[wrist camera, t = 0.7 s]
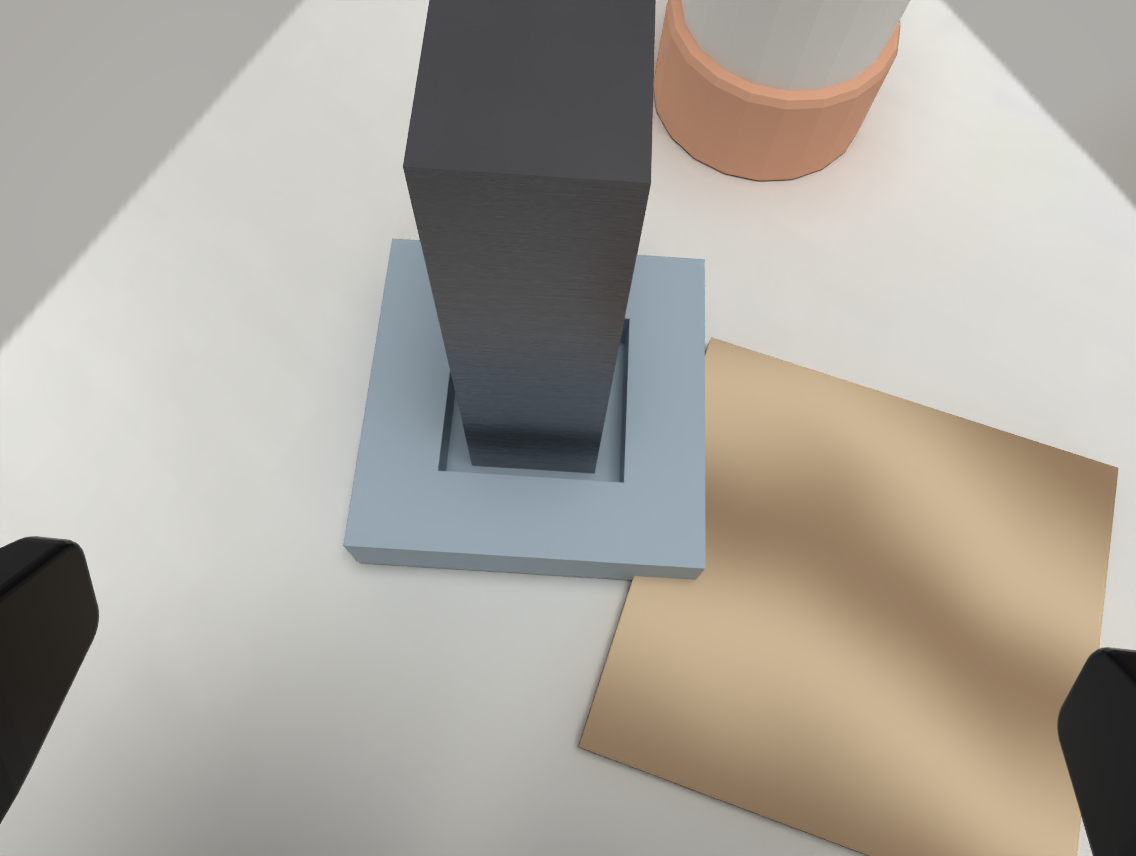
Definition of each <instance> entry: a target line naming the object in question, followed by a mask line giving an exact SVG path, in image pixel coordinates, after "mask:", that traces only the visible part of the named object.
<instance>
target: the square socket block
mask: <svg viewBox="0 0 1136 856" xmlns="http://www.w3.org/2000/svg"><path fill="white" fill-rule="evenodd" d="M343 546H344V547H345V548H346V549H347V550H348V551H349V552H350V553H351V554H352V555H353V556H354V558H355V559H356V560H357V561H358V562H359V563H366V564H382V565H398V566H414V567H429V568H445V569H461V570H477V571H493V572H508V573H524V574H540V575H556V576H572V577H587V578H603V579H619V580H632V579H633V577H634V576H645V577H660V578H676V579H692V580H696V579H697V578H698V577H699V576H700V574H701V573H702V572H703V571H704V570H705V569H706V551H705V267H704V259H691V258H676V257H661V256H646V255H637V257H636V262H635V268H634V273H633V278H632V283H631V288H630V293H629V299H628V304H627V309H626V314H625V319H624V324H623V330H622V335H621V340H620V345H619V350H618V355H617V361H616V366H615V371H614V376H613V381H612V386H611V391H610V397H609V402H608V407H607V412H606V417H605V422H604V428H603V433H602V438H601V443H600V448H599V453H598V459H597V464H596V469H595V474H593V473H577V472H562V471H546V470H531V469H515V468H500V467H484V466H472V463H471V459H470V454H469V450H468V446H467V441H466V437H465V433H464V428H463V424H462V420H461V415H460V411H459V407H458V402H457V398H456V394H455V389H454V385H453V381H452V376H451V372H450V368H449V363H448V359H447V355H446V350H445V346H444V342H443V338H442V333H441V329H440V325H439V320H438V316H437V312H436V307H435V303H434V299H433V294H432V290H431V286H430V281H429V277H428V273H427V268H426V264H425V260H424V255H423V251H422V247H421V242H420V240H405V239H392V244H391V250H390V256H389V262H388V269H387V275H386V281H385V288H384V294H383V300H382V306H381V313H380V319H379V325H378V332H377V338H376V344H375V350H374V357H373V363H372V369H371V375H370V382H369V388H368V394H367V401H366V407H365V413H364V419H363V426H362V432H361V438H360V445H359V451H358V457H357V463H356V470H355V476H354V482H353V489H352V495H351V501H350V507H349V514H348V520H347V526H346V533H345V539H344V545H343Z"/></svg>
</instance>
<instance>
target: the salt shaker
mask: <svg viewBox="0 0 1136 856" xmlns="http://www.w3.org/2000/svg"><path fill="white" fill-rule="evenodd" d="M909 1H910V0H668V3H667V7H666V12H665V18H664V24H663V30H662V36H661V42H660V48H659V54H658V60H657V66H656V72H655V78H654V84H653V88H654V95H655V102H656V109H657V113H658V114H659V116H660V118H661V120H662V122H663V123H664V125H665V127H666V129H667V130H668V132H669V134H670V136H671V137H672V138H673V139H674V140H675V141H676V142H677V143H678V144H679V145H681V146H682V147H683V148H684V149H685V150H686V151H687V152H688V153H689V154H690V155H692V156H693V157H694V158H695V159H697V160H699V161H701V162H703V163H705V164H707V165H709V166H711V167H713V168H715V169H717V170H719V171H721V172H723V173H725V174H730V175H735V176H739V177H744V178H749V179H753V180H758V181H762V180H784V179H794V178H797V177H800V176H803V175H806V174H809V173H812V172H815V171H818V170H821V169H823V168H824V167H826V166H827V165H828V164H830V163H831V162H832V161H834V160H835V159H836V158H838V157H839V156H840V155H842V154H843V153H844V152H845V151H846V150H847V148H848V147H849V145H850V143H851V142H852V140H853V138H854V137H855V135H856V133H857V132H858V130H859V128H860V126H861V124H862V122H863V120H864V118H865V117H866V115H867V113H868V111H869V109H870V107H871V105H872V103H873V101H874V99H875V97H876V95H877V93H878V91H879V89H880V87H881V85H882V83H883V81H884V79H885V77H886V75H887V73H888V71H889V69H890V67H891V65H892V63H893V61H894V59H895V57H896V56H897V51H898V43H899V35H900V18H901V17H902V15H903V13H904V11H905V9H906V7H907V5H908V3H909Z"/></svg>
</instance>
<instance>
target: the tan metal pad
mask: <svg viewBox="0 0 1136 856" xmlns="http://www.w3.org/2000/svg"><path fill="white" fill-rule="evenodd" d="M1117 476H1118V468H1117V467H1114V466H1110V465H1107V464H1104V463H1101V462H1098V461H1095V460H1092V459H1089V458H1086V457H1082V456H1079V455H1076V454H1073V453H1070V452H1067V451H1064V450H1061V449H1058V448H1054V447H1051V446H1048V445H1045V444H1042V443H1039V442H1036V441H1033V440H1029V439H1026V438H1023V437H1020V436H1017V435H1014V434H1011V433H1008V432H1005V431H1001V430H998V429H995V428H992V427H989V426H986V425H983V424H980V423H976V422H973V421H970V420H967V419H964V418H961V417H958V416H955V415H952V414H948V413H945V412H942V411H939V410H936V409H933V408H930V407H927V406H924V405H920V404H917V403H914V402H911V401H908V400H905V399H902V398H899V397H895V396H892V395H889V394H886V393H883V392H880V391H877V390H874V389H871V388H867V387H864V386H861V385H858V384H855V383H852V382H849V381H846V380H842V379H839V378H836V377H833V376H830V375H827V374H824V373H821V372H818V371H814V370H811V369H808V368H805V367H802V366H799V365H796V364H793V363H790V362H786V361H783V360H780V359H777V358H774V357H771V356H768V355H765V354H761V353H758V352H755V351H752V350H749V349H746V348H743V347H740V346H737V345H733V344H730V343H727V342H724V341H721V340H718V339H715V338H712V337H711V339H710V341H709V344H708V346H707V349H706V352H705V551H706V569H705V570H704V571H703V572H702V573H701V574H700V576H699V577H698V578H697V579H696V580H692V579H676V578H660V577H645V576H634V577H633V579H632V582H631V585H630V588H629V591H628V594H627V597H626V600H625V603H624V606H623V610H622V613H621V616H620V619H619V622H618V625H617V628H616V631H615V634H614V638H613V641H612V644H611V647H610V650H609V653H608V656H607V659H606V662H605V665H604V669H603V672H602V675H601V678H600V681H599V684H598V687H597V690H596V693H595V696H594V700H593V703H592V706H591V709H590V712H589V715H588V718H587V721H586V724H585V727H584V731H583V734H582V737H581V740H580V743H579V746H578V747H580V748H582V749H585V750H588V751H590V752H593V753H596V754H598V755H601V756H604V757H606V758H609V759H612V760H614V761H617V762H620V763H622V764H625V765H628V766H630V767H633V768H636V769H638V770H641V771H644V772H646V773H649V774H652V775H654V776H657V777H660V778H662V779H665V780H668V781H670V782H673V783H676V784H678V785H681V786H684V787H686V788H689V789H692V790H694V791H697V792H700V793H702V794H705V795H708V796H710V797H713V798H716V799H718V800H721V801H724V802H726V803H729V804H732V805H734V806H737V807H740V808H742V809H745V810H748V811H750V812H753V813H756V814H758V815H761V816H764V817H766V818H769V819H772V820H775V821H777V822H780V823H783V824H785V825H788V826H791V827H793V828H796V829H799V830H801V831H804V832H807V833H809V834H812V835H815V836H817V837H820V838H823V839H825V840H828V841H831V842H833V843H836V844H839V845H841V846H844V847H847V848H849V849H852V850H855V851H857V852H860V853H863V854H865V855H868V856H1077V850H1078V840H1079V831H1080V822H1081V813H1080V810H1079V806H1078V803H1077V800H1076V796H1075V793H1074V789H1073V786H1072V783H1071V779H1070V776H1069V772H1068V769H1067V766H1066V762H1065V759H1064V755H1063V752H1062V749H1061V745H1060V742H1059V737H1058V730H1057V720H1058V715H1059V711H1060V708H1061V706H1062V704H1063V702H1064V700H1065V699H1066V697H1067V695H1068V693H1069V691H1070V689H1071V688H1072V686H1073V684H1074V682H1075V680H1076V679H1077V677H1078V675H1079V673H1080V671H1081V669H1082V668H1083V666H1084V664H1085V662H1086V660H1087V659H1088V657H1089V656H1090V654H1092V653H1093V652H1094V651H1096V650H1097V649H1099V644H1100V635H1101V626H1102V616H1103V607H1104V598H1105V588H1106V579H1107V570H1108V560H1109V551H1110V542H1111V532H1112V523H1113V514H1114V504H1115V495H1116V486H1117Z"/></svg>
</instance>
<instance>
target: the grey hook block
mask: <svg viewBox="0 0 1136 856" xmlns="http://www.w3.org/2000/svg"><path fill="white" fill-rule="evenodd" d="M654 37H655V0H429V7H428V13H427V19H426V26H425V32H424V38H423V44H422V51H421V57H420V63H419V69H418V76H417V82H416V88H415V94H414V101H413V107H412V113H411V119H410V126H409V132H408V138H407V145H406V151H405V157H404V163H403V169H404V173H405V177H406V182H407V186H408V190H409V195H410V199H411V203H412V208H413V212H414V216H415V221H416V225H417V229H418V234H419V238H420V242H421V247H422V251H423V255H424V260H425V264H426V268H427V273H428V277H429V281H430V286H431V290H432V294H433V299H434V303H435V307H436V312H437V316H438V320H439V325H440V329H441V333H442V338H443V342H444V346H445V350H446V355H447V359H448V363H449V368H450V372H451V376H452V381H453V385H454V389H455V394H456V398H457V402H458V407H459V411H460V415H461V420H462V424H463V428H464V433H465V437H466V441H467V446H468V450H469V454H470V459H471V463H472V466H484V467H500V468H515V469H531V470H546V471H562V472H577V473H593V474H595V469H596V464H597V459H598V453H599V448H600V443H601V438H602V433H603V428H604V422H605V417H606V412H607V407H608V402H609V397H610V391H611V386H612V381H613V376H614V371H615V366H616V361H617V355H618V350H619V345H620V340H621V335H622V330H623V324H624V319H625V314H626V309H627V304H628V299H629V293H630V288H631V283H632V278H633V273H634V268H635V262H636V257H637V252H638V247H639V242H640V237H641V231H642V226H643V221H644V216H645V211H646V206H647V200H648V195H649V190H650V185H651V157H652V117H653V77H654Z"/></svg>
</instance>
